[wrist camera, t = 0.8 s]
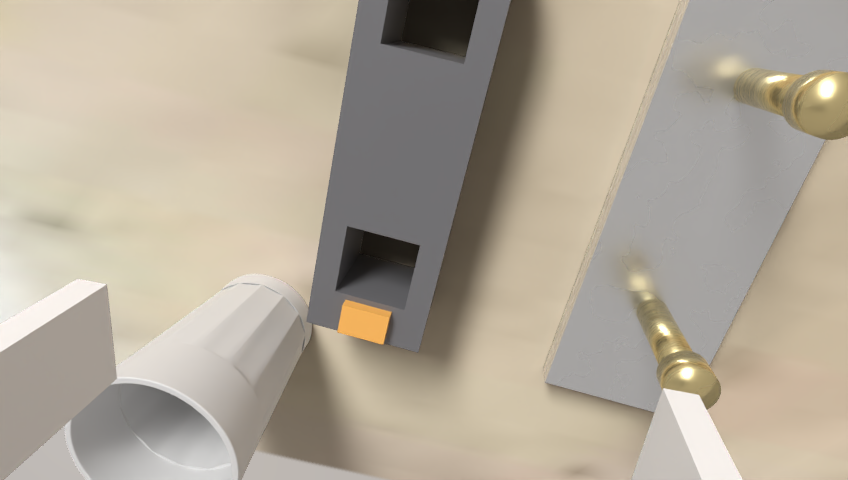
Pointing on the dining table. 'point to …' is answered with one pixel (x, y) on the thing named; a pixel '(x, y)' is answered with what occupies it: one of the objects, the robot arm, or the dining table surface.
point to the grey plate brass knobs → (701, 194)
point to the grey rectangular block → (398, 170)
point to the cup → (196, 390)
